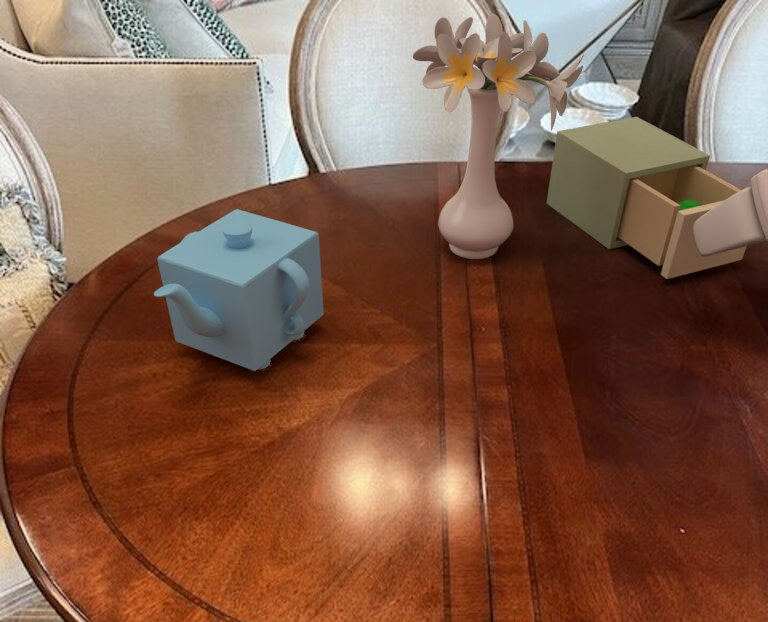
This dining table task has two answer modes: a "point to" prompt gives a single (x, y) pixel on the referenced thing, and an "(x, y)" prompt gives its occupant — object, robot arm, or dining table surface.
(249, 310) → the teapot
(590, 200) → the cabinet
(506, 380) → the dining table surface
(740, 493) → the dining table surface
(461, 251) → the flower vase
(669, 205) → the drawer
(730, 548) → the dining table surface
